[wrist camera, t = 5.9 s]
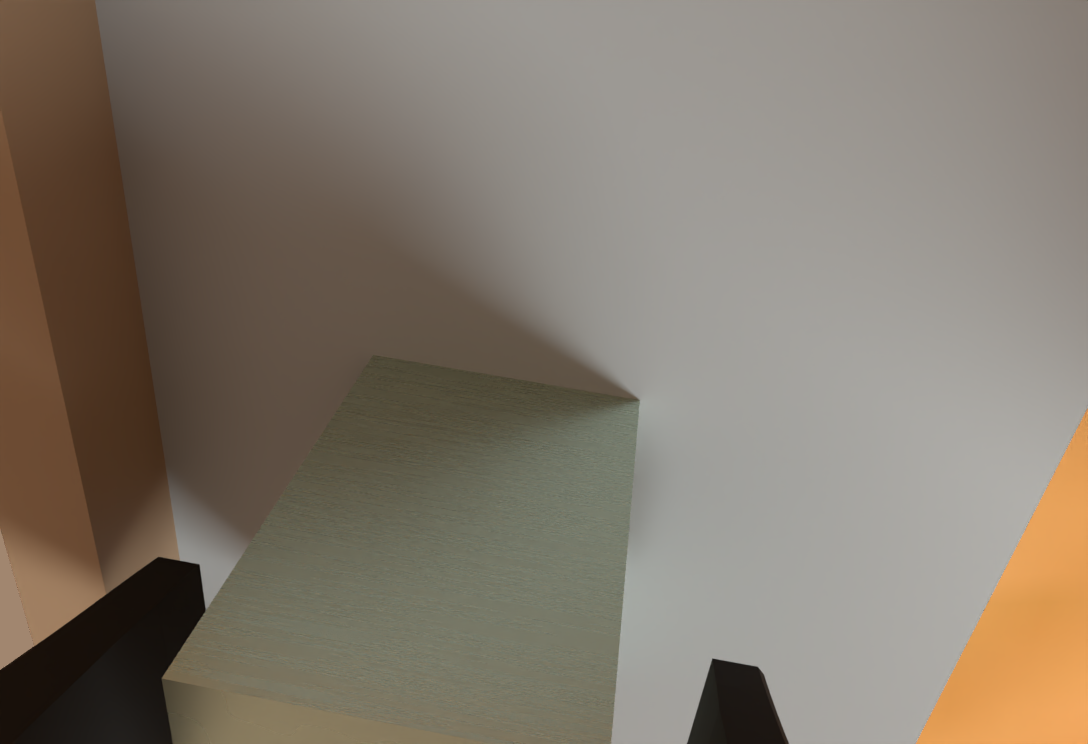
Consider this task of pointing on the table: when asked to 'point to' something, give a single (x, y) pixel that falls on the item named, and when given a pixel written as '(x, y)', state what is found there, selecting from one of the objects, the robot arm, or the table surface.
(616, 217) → the shelf
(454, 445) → the sage tin
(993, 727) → the table surface
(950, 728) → the table surface
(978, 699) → the table surface
